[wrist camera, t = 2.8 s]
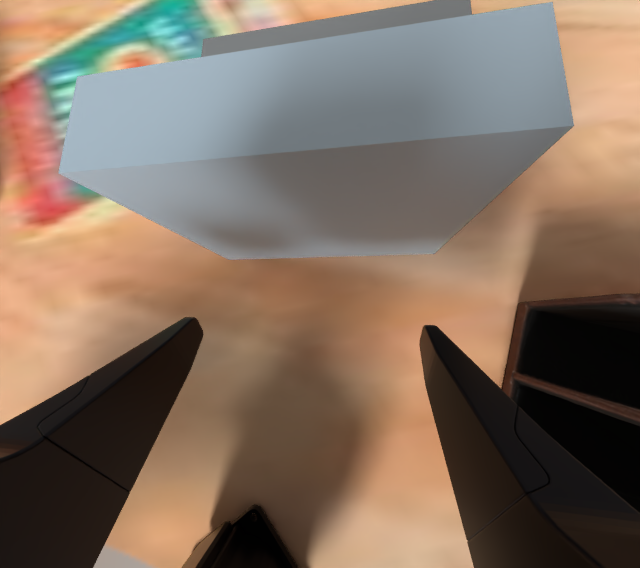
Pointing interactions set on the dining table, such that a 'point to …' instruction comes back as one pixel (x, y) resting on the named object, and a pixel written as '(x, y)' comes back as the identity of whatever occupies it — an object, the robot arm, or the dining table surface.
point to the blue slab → (327, 135)
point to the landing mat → (337, 26)
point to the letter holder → (583, 381)
